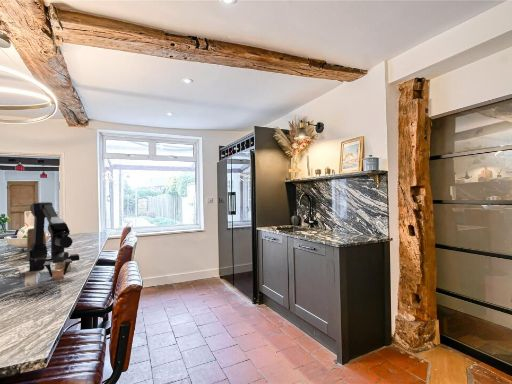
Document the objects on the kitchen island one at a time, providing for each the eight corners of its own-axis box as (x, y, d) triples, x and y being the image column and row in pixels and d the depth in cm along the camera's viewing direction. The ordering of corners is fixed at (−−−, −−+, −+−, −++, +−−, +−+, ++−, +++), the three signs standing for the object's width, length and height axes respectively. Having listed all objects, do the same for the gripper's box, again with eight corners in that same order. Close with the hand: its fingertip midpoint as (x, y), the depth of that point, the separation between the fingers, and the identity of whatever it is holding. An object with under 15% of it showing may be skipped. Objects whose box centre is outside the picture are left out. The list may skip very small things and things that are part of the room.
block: (26, 257, 197) (26, 229, 197) (28, 255, 204) (27, 228, 204) (46, 255, 203) (45, 227, 203) (46, 253, 210) (46, 226, 210)
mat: (49, 276, 152) (49, 275, 152) (48, 271, 162) (48, 270, 162) (77, 271, 160) (77, 271, 160) (75, 267, 170) (75, 266, 170)
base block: (55, 273, 156) (55, 265, 156) (55, 270, 161) (55, 263, 161) (70, 270, 160) (70, 263, 160) (69, 268, 166) (69, 261, 166)
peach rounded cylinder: (52, 280, 143) (51, 272, 143) (51, 277, 147) (51, 270, 147) (64, 278, 147) (64, 270, 147) (63, 276, 151) (63, 268, 151)
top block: (56, 265, 157) (56, 258, 157) (56, 263, 161) (56, 256, 161) (69, 263, 160) (69, 256, 160) (68, 261, 165) (68, 254, 165)
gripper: (34, 250, 135) (35, 283, 135) (80, 246, 146) (80, 276, 146) (35, 247, 144) (35, 278, 144) (78, 243, 155) (78, 271, 155)
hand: (57, 276), depth 147 cm, fingers closed on peach rounded cylinder, 5 cm apart
